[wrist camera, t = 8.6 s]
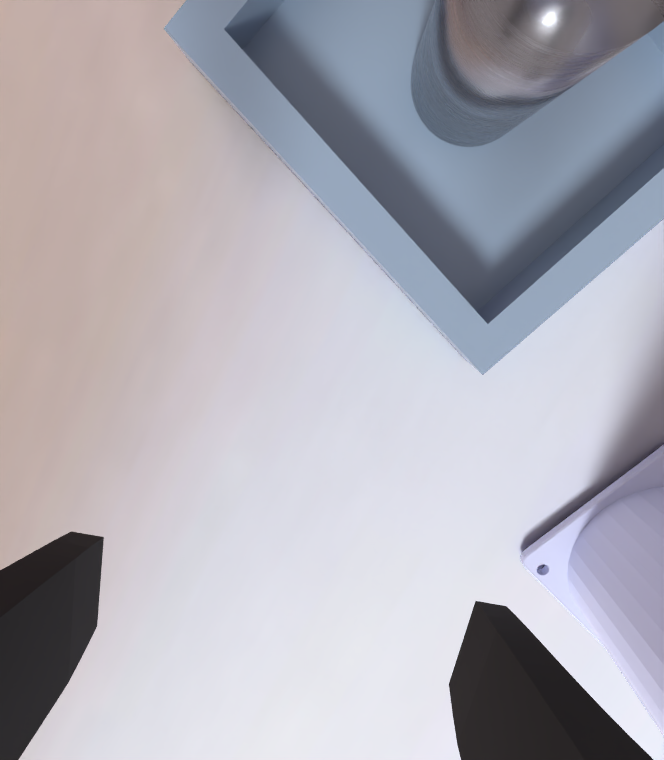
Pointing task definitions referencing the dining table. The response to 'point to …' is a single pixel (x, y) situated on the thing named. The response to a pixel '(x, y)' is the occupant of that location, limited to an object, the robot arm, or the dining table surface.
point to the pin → (514, 58)
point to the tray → (443, 159)
